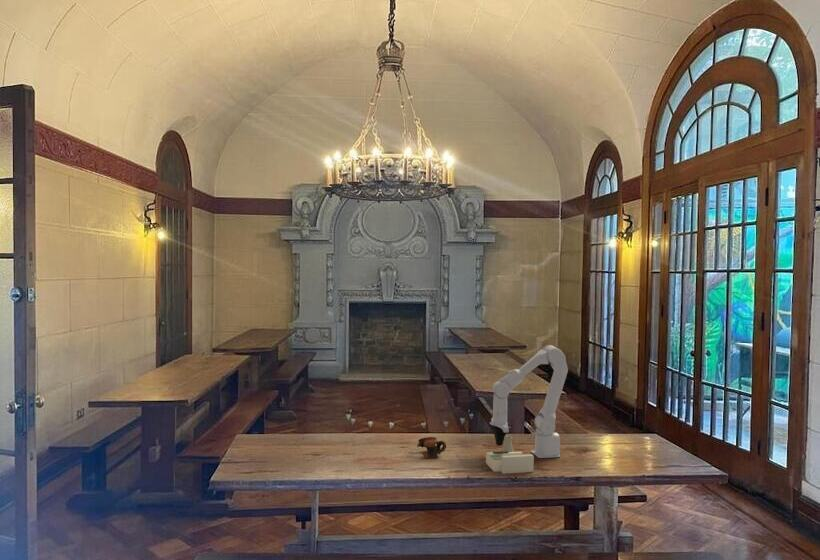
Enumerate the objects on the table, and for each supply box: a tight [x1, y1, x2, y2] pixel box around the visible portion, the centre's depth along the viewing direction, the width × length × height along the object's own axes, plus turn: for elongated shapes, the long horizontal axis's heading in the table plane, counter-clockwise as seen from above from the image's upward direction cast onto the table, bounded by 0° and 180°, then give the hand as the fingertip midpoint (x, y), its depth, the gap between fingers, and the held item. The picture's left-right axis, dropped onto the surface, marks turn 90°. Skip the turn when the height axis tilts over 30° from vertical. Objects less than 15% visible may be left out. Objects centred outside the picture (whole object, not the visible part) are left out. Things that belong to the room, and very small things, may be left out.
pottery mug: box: [416, 436, 447, 459], centre depth 233 cm, size 12×10×8 cm
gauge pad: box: [493, 450, 524, 456], centre depth 221 cm, size 12×2×6 cm, turn 102°
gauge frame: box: [485, 450, 535, 475], centre depth 220 cm, size 14×12×6 cm
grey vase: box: [500, 435, 515, 457], centre depth 225 cm, size 7×7×10 cm
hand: (499, 445), depth 234 cm, fingers closed
